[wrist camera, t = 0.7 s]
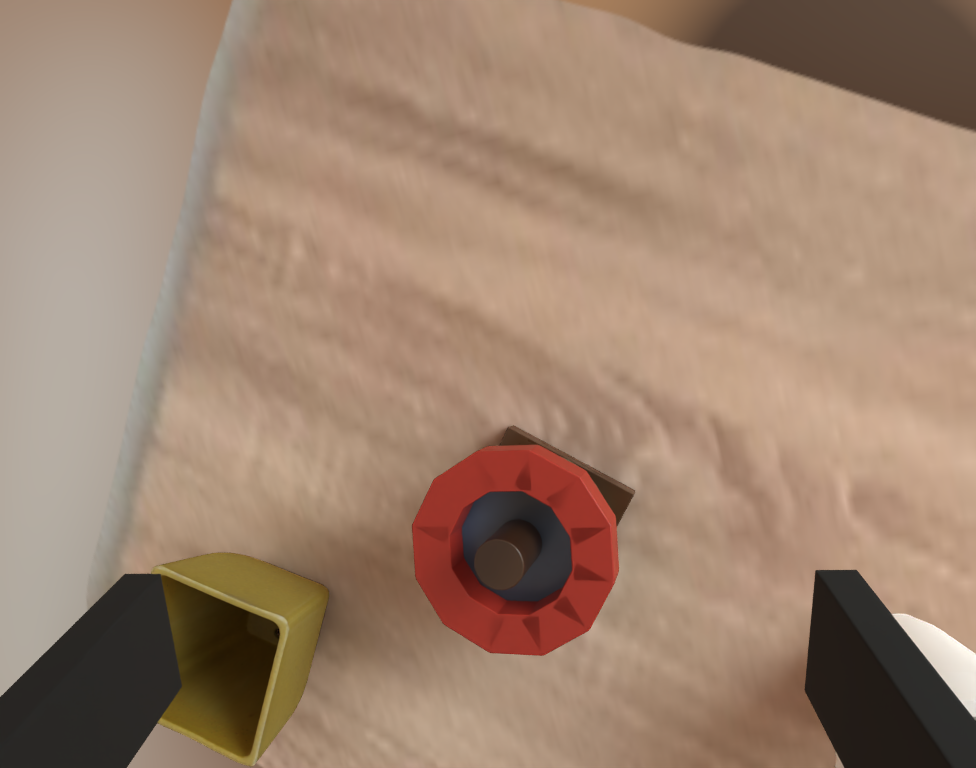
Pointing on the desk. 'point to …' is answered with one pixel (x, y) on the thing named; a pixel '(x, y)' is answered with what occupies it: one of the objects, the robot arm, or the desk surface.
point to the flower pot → (239, 649)
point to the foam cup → (943, 660)
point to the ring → (482, 609)
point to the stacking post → (527, 534)
